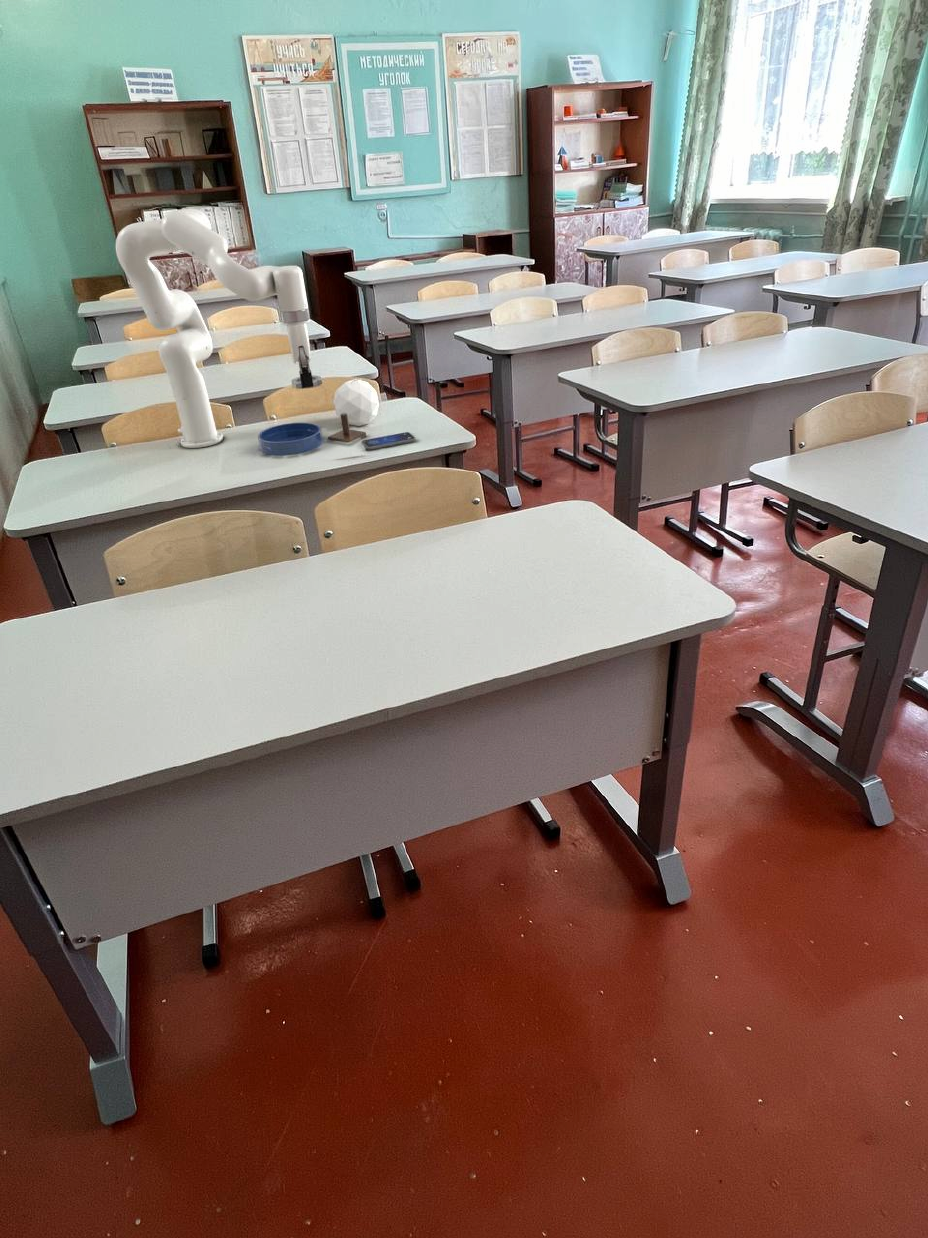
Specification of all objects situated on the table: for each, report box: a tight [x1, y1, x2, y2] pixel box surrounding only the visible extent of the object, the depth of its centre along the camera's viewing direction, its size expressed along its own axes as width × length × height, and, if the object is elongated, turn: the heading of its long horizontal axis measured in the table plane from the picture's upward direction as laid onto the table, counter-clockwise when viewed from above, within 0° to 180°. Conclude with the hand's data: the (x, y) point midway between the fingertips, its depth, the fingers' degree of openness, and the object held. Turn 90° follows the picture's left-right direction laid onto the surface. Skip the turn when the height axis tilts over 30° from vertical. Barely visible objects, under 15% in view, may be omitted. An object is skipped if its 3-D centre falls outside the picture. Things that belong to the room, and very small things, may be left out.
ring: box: [291, 374, 323, 390], centre depth 215 cm, size 8×8×2 cm
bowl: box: [257, 422, 324, 456], centre depth 221 cm, size 18×18×4 cm
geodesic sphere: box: [332, 377, 380, 428], centre depth 234 cm, size 15×14×14 cm
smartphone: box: [360, 431, 417, 451], centre depth 219 cm, size 7×1×15 cm
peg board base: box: [327, 413, 367, 443], centre depth 223 cm, size 8×8×8 cm
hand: (307, 385), depth 212 cm, fingers closed on ring, 1 cm apart
